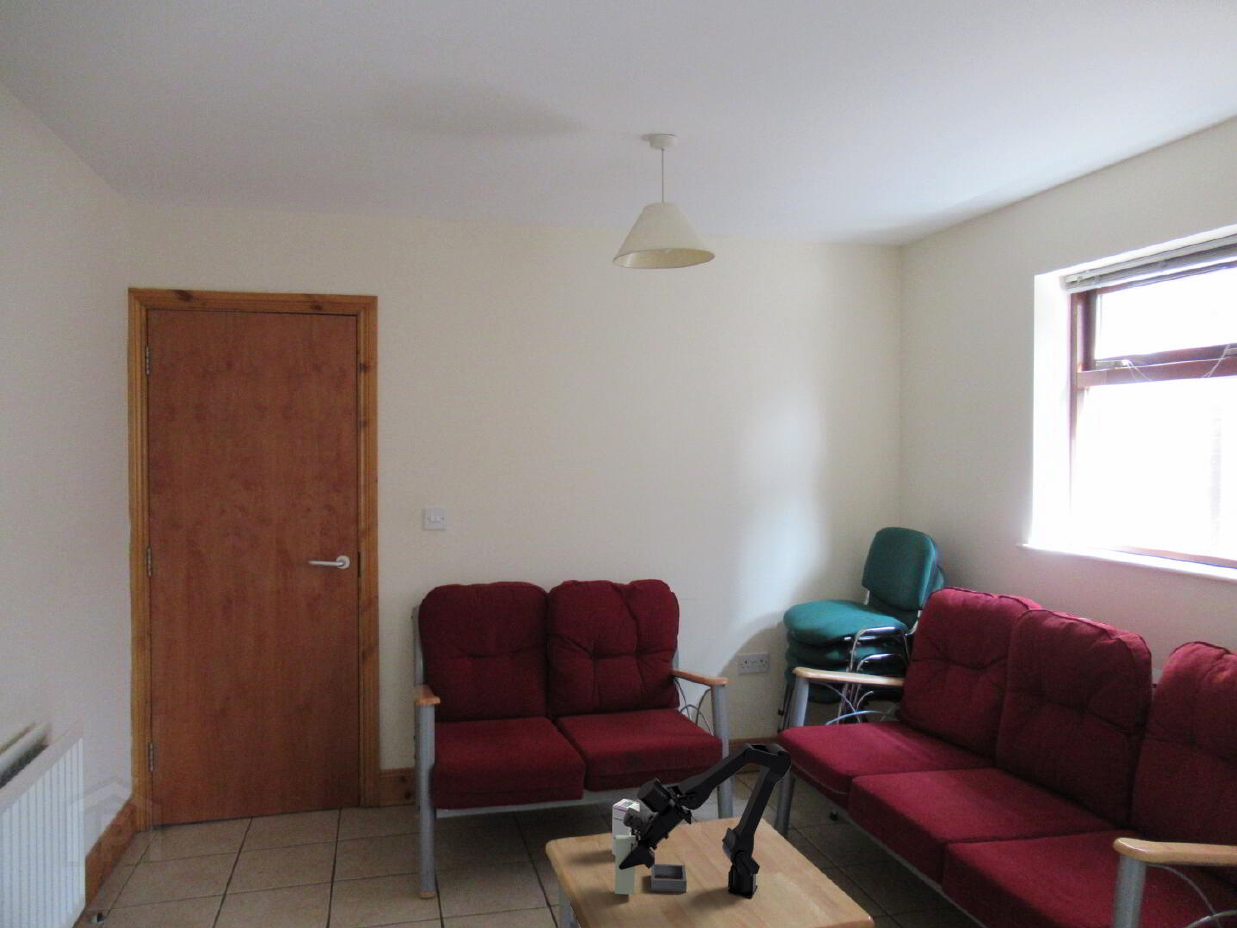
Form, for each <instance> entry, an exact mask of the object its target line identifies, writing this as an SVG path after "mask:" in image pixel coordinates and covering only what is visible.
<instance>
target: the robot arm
mask: <svg viewBox="0 0 1237 928" xmlns="http://www.w3.org/2000/svg"><path fill="white" fill-rule="evenodd" d="M749 764H755V765H759V774H758V778H757V780H756V782H755V785H754V786H753V789H752V791H751V794H750V796H749V798H748V801H747V803H746V806H745V808H744V810H743V812H742V814H741V817H740V819H739V822H738V824H737V825H736V826H734V828H731V827H727V828H726V830H725V831H726V832H725V836H724V837H723V838H722V839H721V842H722V846H721V847H722V852H723V853H724V855H725V856H726V857H727V859H728V860H729V861H730V863H731V866H730V868H729V871H728V872H727V873H728V876H727V887H728V889H727V893H728V894H730V895H731V894H732V895H736V896H740V897H744V898H750V899H753V897H754V895H755V893H756V892H757V890H758V887H759V886H758V885H757V874H758V873H759V871H760V868H761V866H760V864H759V863H758V862H757V861H756V860H755V858H754V857H753V854H754V850H755V848H754V847H755V835H756V832H757V829H758V827H759V825H760V822H761V819H762V818H763V815H764V813H765V811H766V808H767V806H768V803H769V801H770V799H771V796H772V794H773V791H774V790H775V787H776V785H777V783H779V782H780V781H782V779H784V778H785V777H786V775H787V774H788V771H789V770H790V769H791V767H792V764H793V759H792V757H791V754H789V752H788V751H786V750H785V748H783V747H782V746H781V745H780V744H778V743H775V742H774V743H770V744H764V743H763V744H762V743H746V742H744V743H740V745H739V746H738V747H737V748H736V749H735V750H733V751H732V752H731V753H729V754H728V755H726V756H725V757H724V758H722V759H720V760H719V761H718V762H717V763H716V764H714V765H713V766H712V767H710V768H708V769H707V770H706V771H704V772H703V773H701V774H700V773H699V774H697V775H692V776H690V777H688V778H685V779H684V780H683V781H681V782H680V783H678V784H675V785H673V784H672V785H668V786H664V785H663V783H661V781H660V779H658V778H657V777H654V778H653V779H652V780H648V781H646V782H645V783H643V784H642V785H641V786H640V787H639V790H638V791H637V794H636V797H637V799H638V800H639V801H640V802H641V803H642V804H643V805H645V806H646V807H647V808H648V810H650V811H651V812H652V813H651V814H649V815H648V816H647V815H646V814H644V813H643V812H640V810H639V811H637V810H635V809H633V808H630V807H629V808H628V810H627V812H626V814H625V816H624V818H623V819H624V821H623V824H624V825H625V826H627V827H631V835H634V836H636V842H635V843H634V844H632V843H631V851H630V852H629V854H628V855H627V856H626V857H625V859H624V860H623V861H622V862H621V864H620V865H619V868H620V869H621V870H624V869H627V868H631V867H634V866H635V867H638V866H642V865H644V866H645V867H646V868H647V869H649V870H651V867H652V866H653V865H654V864H656V863H655V862H656V858H655V857H656V855H655V854H656V853H655V851H656V850H657V849H658V845H659V843H660V842H661V841H663V840H664V839H665V840H667V839H669V838H670V833H671V832H672V831H673V830H675V829H676V828H677V827H678V826H679V825H680V824H681V823H682V822H684V821H685V822H686V823H687V824H688V825H690V826H691V825H692V816H693V813H692V811H697V810H698V809H700V808H701V807H702V806H703V805H704V804H705V803H706V802H707V801H708V800H709V799H710V797H711V795H712V793H713V791H714V790H715V789H717V788H718V787H720V785H722V784H723V783H725V782H726V781H727V780H728V779H730V778H732V777H733V776H734V775H736V774H737V773H738V772H740V771H741V770H742V769H744V768H745V767H746V766H748V765H749Z"/></svg>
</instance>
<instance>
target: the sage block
mask: <svg viewBox="0 0 1237 928" xmlns="http://www.w3.org/2000/svg"><path fill="white" fill-rule="evenodd" d="M635 842H636V836H634V835H616V856H615V866H614V868H615V869H614V872H615V875H614V877H615V879H614V894H615V895H635V890H636V889H635V888H636V887H635V886H636V885H635V884H636V880H635V879H636V866H634V867H631V868H627V869H624V870H621V869H620V868H619V865H620V864H621V862H622V861H623V860H624V859H625V857H626V856H627V855H628V854H629V852H630V851H631V843H632V844H634V843H635Z"/></svg>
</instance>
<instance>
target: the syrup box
mask: <svg viewBox="0 0 1237 928" xmlns="http://www.w3.org/2000/svg"><path fill="white" fill-rule="evenodd" d="M629 807H630V808H633V809H635V810H637V811H639V812H640V802H638V801H635V800H632V799H627V798H623V799H622V800H620V801H618V802H616V803H614V804H613V805H612V825H611V826H612V833H611V834H612V839H611V842H612V843H611V849H612V850H611V855H613V856H615V857H616V835H631V827H627V826H625V825H624V824H623V821H624V819H623V818H624V816H625V814H626V812H627V810H628V808H629Z"/></svg>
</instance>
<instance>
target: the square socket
mask: <svg viewBox="0 0 1237 928" xmlns="http://www.w3.org/2000/svg"><path fill="white" fill-rule="evenodd" d="M660 876H670V877H669V878H656V877H660ZM673 878H675V879H673ZM677 878H678V879H677ZM679 878H681V879H679ZM650 882H651V883H650V884H651V885H650V886H651V887H650V888H651V890H652V891H651V892H654V891H662V892H661V893H682V892H685V894H686V893H687V890H688V889H687V887H688V886H687V873H686V865H685V864H669V863H668V864H667V863H666V864H665V863H655V864H654V865H653V866H652V867H651V868H650Z"/></svg>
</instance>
